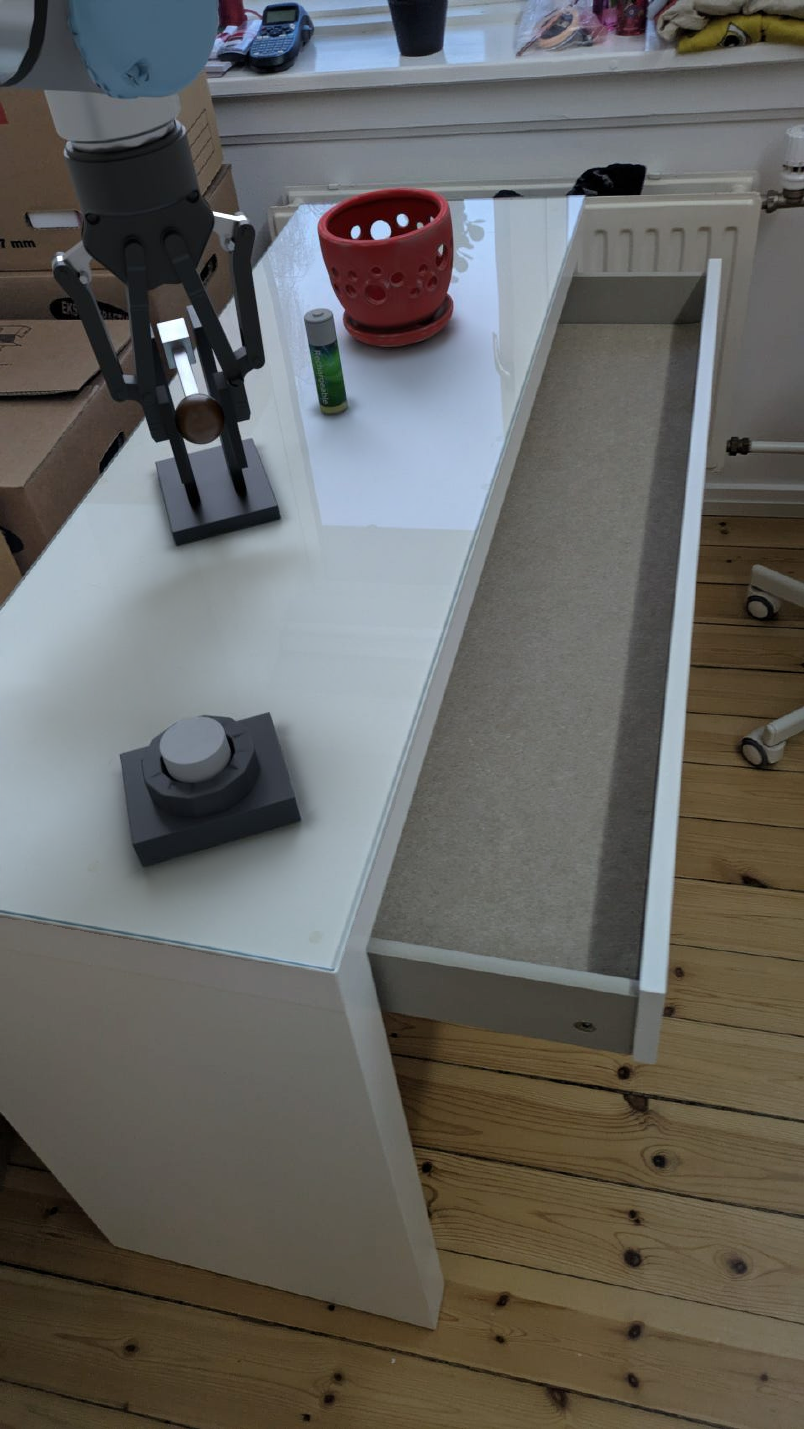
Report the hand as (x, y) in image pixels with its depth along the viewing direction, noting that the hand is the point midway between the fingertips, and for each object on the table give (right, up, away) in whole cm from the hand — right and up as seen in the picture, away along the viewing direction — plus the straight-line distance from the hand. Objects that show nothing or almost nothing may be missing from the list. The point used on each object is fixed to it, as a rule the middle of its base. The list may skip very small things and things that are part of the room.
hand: (212, 466), depth 82 cm
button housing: (+2, -24, -12) cm, 27 cm away
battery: (+8, +10, +22) cm, 25 cm away
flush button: (+2, -21, -15) cm, 26 cm away
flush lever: (-2, +5, +2) cm, 6 cm away
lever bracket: (-2, 0, +13) cm, 13 cm away
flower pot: (+14, +22, +32) cm, 41 cm away
